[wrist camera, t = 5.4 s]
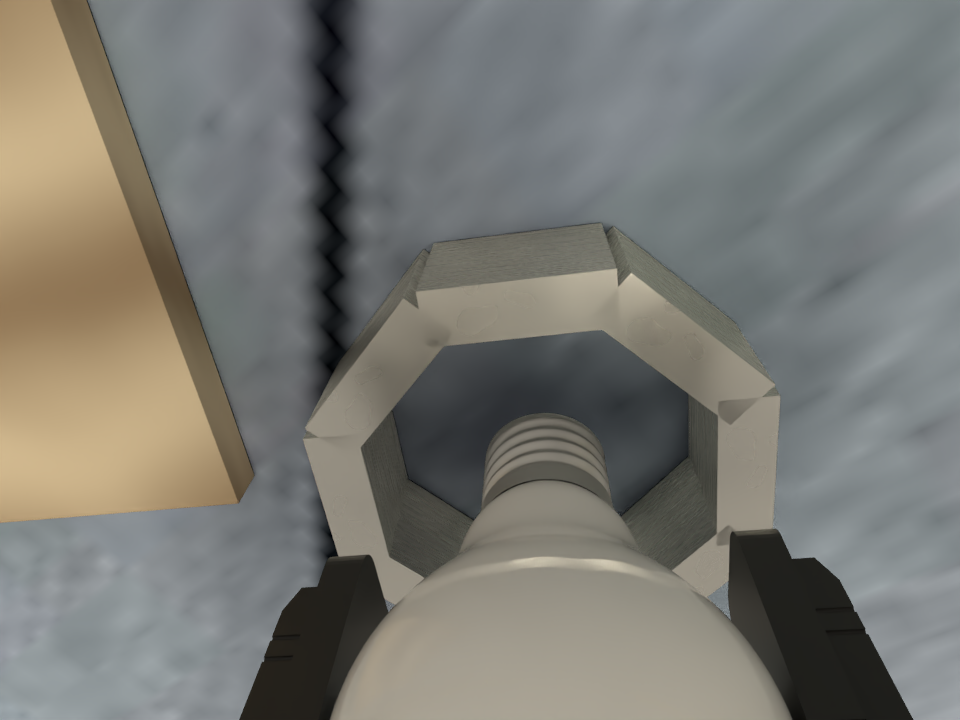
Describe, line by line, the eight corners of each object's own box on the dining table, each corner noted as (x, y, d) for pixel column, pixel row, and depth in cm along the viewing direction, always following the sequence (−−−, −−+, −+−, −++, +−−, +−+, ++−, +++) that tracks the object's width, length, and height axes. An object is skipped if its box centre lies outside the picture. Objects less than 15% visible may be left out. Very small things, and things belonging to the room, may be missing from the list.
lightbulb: (696, 528, 17) (917, 1223, 8) (448, 565, 18) (361, 1217, 9) (664, 295, 14) (949, 924, 5) (373, 354, 15) (117, 968, 6)
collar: (305, 258, 16) (263, 309, 14) (743, 205, 15) (788, 249, 13) (390, 574, 21) (370, 659, 18) (733, 551, 20) (766, 638, 17)
